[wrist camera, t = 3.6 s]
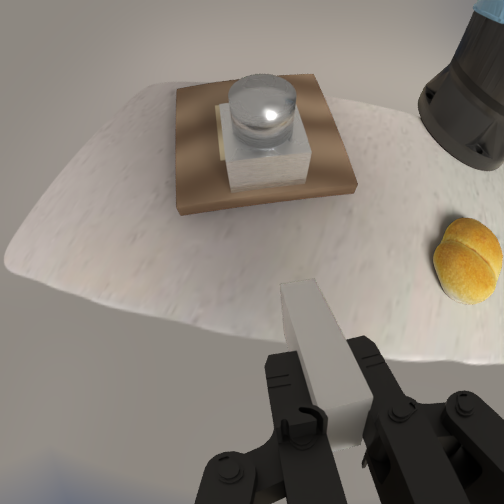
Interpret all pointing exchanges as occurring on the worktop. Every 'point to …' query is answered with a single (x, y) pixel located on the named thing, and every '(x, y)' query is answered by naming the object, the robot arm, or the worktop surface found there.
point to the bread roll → (468, 261)
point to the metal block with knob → (263, 134)
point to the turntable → (213, 155)
